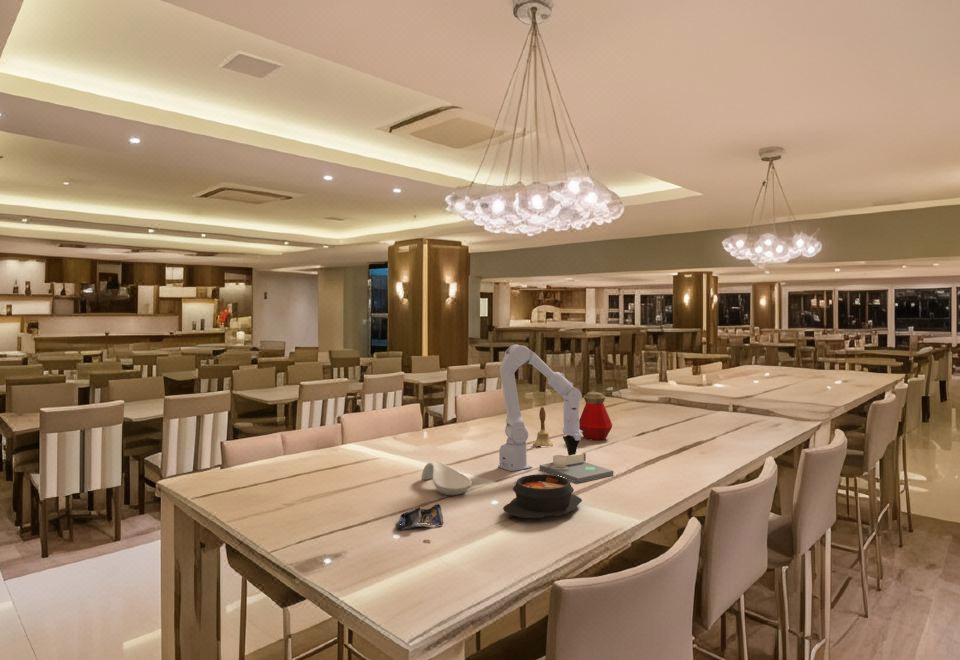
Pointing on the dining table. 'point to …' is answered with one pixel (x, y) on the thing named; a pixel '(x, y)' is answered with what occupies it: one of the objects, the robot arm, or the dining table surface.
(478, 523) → the dining table surface
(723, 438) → the dining table surface
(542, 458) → the dining table surface
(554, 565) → the dining table surface
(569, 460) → the brown-capped cream post
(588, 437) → the bottle
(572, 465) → the dial board
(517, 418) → the robot arm
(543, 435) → the hand bell
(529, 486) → the casserole
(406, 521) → the snack package
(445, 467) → the spoon rest
